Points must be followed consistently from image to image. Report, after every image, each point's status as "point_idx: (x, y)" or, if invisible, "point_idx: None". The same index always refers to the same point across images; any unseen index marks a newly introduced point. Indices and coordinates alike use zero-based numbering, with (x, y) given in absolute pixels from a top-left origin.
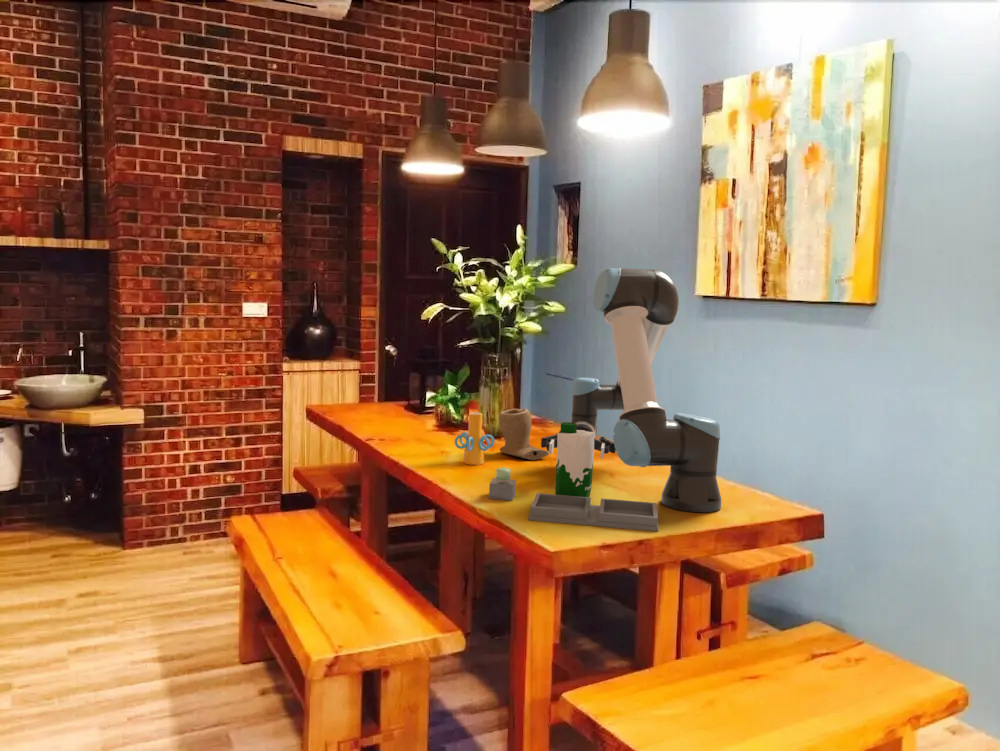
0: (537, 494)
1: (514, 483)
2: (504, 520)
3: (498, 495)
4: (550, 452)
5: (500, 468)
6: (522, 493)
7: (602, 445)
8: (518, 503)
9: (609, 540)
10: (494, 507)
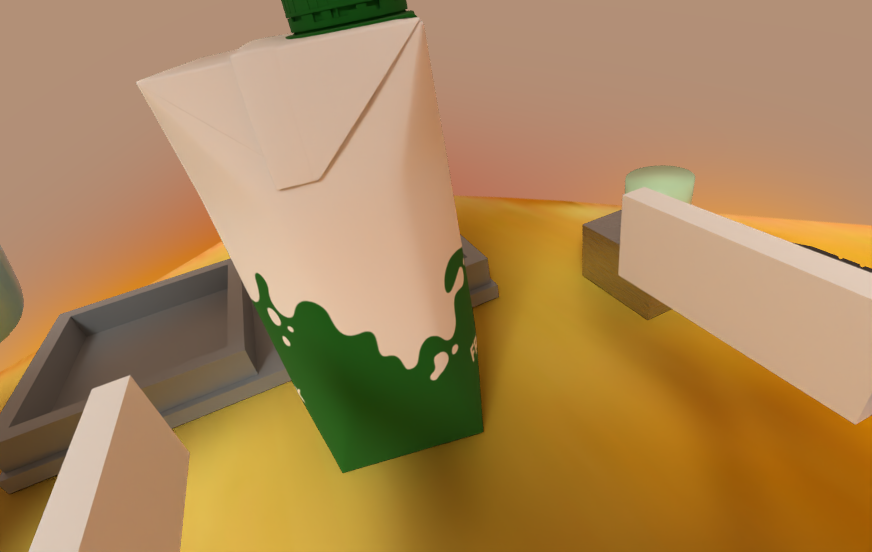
0: (473, 251)
1: (612, 243)
2: (466, 200)
3: None
4: (627, 259)
5: (683, 176)
6: (656, 353)
7: (71, 523)
8: (545, 273)
9: (222, 247)
10: (559, 223)
